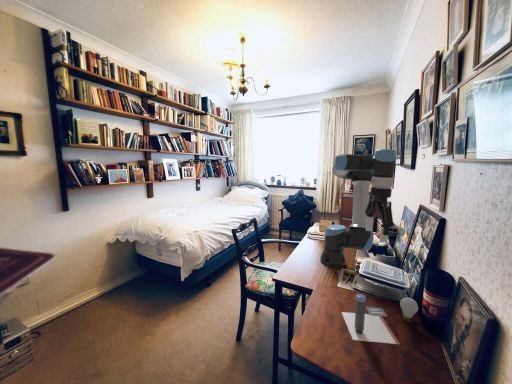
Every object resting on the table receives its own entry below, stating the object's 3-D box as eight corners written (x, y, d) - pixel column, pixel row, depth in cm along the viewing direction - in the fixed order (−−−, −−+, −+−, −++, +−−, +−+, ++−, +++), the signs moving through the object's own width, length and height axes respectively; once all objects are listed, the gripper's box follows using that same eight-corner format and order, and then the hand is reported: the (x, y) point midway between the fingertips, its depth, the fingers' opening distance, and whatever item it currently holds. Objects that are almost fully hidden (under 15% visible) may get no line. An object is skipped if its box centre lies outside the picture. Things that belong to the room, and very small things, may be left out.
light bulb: (398, 313, 91) (401, 292, 89) (416, 320, 87) (419, 298, 85) (397, 321, 86) (400, 299, 85) (415, 329, 83) (418, 306, 81)
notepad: (341, 312, 91) (341, 311, 91) (380, 315, 89) (380, 315, 89) (352, 340, 77) (353, 339, 77) (399, 344, 76) (400, 343, 76)
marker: (352, 328, 82) (354, 294, 81) (361, 328, 82) (363, 293, 81) (356, 334, 79) (358, 299, 77) (365, 334, 79) (367, 299, 77)
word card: (365, 307, 94) (365, 306, 94) (381, 308, 94) (382, 307, 94) (370, 315, 89) (370, 314, 89) (387, 317, 89) (387, 316, 89)
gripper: (360, 183, 101) (356, 226, 105) (387, 191, 77) (380, 247, 80) (376, 183, 101) (372, 227, 104) (409, 192, 76) (401, 248, 80)
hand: (375, 236), depth 92 cm, fingers open, 13 cm apart
